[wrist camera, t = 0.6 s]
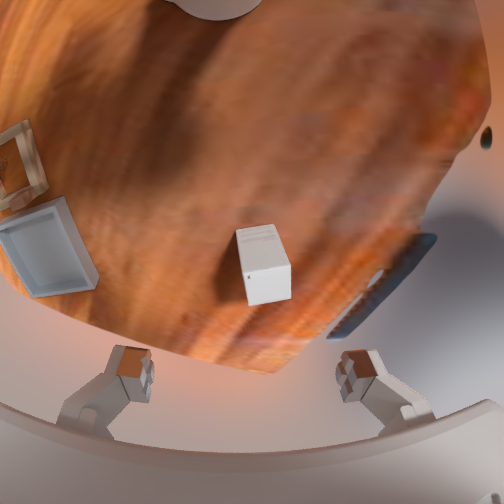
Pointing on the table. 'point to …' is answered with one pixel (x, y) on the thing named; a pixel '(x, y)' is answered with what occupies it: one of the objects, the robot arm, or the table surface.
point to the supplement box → (263, 265)
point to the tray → (48, 250)
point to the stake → (3, 163)
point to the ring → (31, 165)
